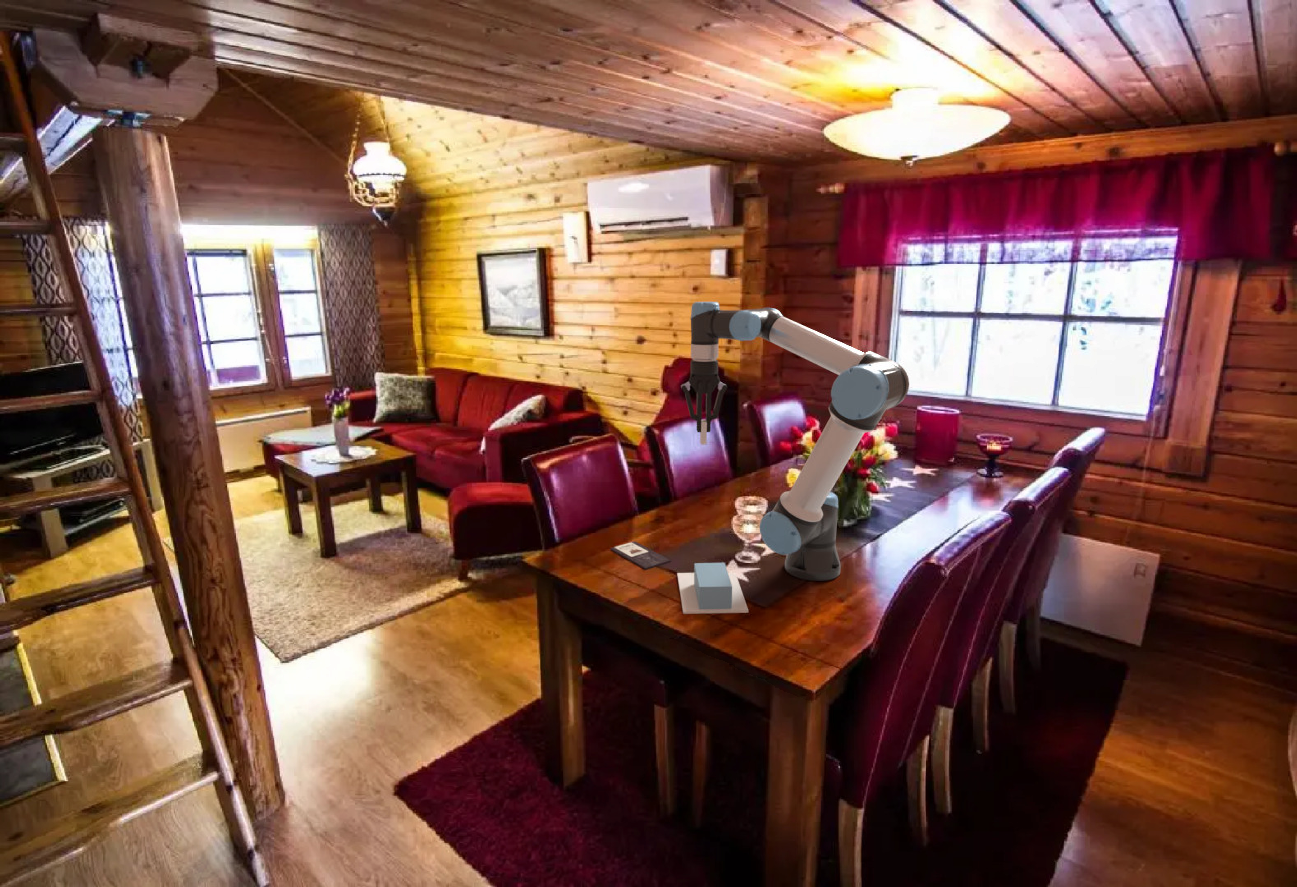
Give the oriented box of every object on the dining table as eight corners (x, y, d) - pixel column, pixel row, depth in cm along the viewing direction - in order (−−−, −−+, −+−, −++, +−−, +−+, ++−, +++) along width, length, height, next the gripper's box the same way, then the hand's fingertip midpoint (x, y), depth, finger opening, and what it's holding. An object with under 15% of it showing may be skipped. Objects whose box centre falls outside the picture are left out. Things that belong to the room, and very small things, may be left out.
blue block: (724, 562, 179) (732, 586, 165) (724, 583, 180) (731, 608, 167) (694, 563, 179) (699, 587, 165) (694, 584, 180) (699, 609, 167)
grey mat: (735, 574, 188) (735, 572, 187) (748, 612, 166) (748, 610, 166) (677, 575, 187) (677, 573, 187) (683, 613, 166) (683, 611, 166)
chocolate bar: (645, 568, 191) (610, 548, 205) (645, 571, 191) (610, 551, 205) (670, 560, 196) (634, 541, 210) (670, 563, 196) (634, 544, 210)
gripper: (726, 357, 189) (724, 439, 194) (679, 358, 188) (679, 440, 194) (730, 360, 181) (728, 446, 187) (681, 361, 181) (681, 447, 187)
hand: (703, 443), depth 191 cm, fingers closed
